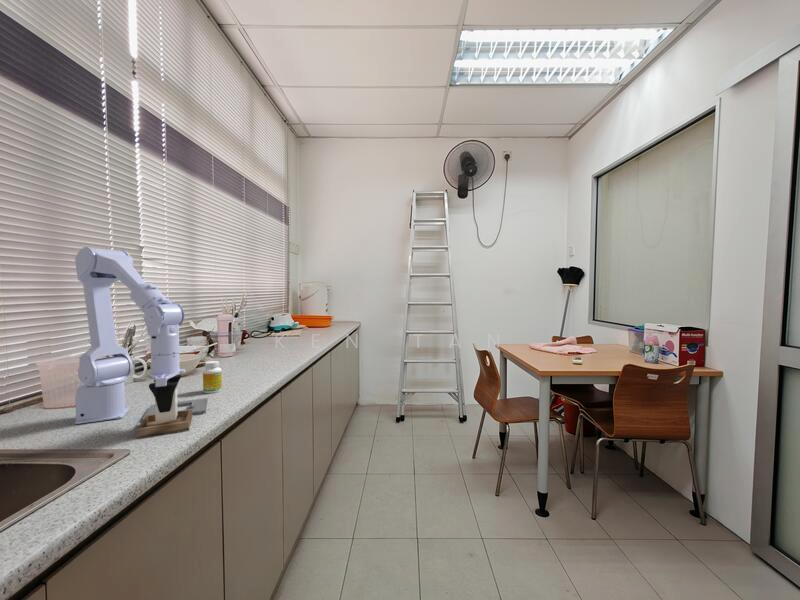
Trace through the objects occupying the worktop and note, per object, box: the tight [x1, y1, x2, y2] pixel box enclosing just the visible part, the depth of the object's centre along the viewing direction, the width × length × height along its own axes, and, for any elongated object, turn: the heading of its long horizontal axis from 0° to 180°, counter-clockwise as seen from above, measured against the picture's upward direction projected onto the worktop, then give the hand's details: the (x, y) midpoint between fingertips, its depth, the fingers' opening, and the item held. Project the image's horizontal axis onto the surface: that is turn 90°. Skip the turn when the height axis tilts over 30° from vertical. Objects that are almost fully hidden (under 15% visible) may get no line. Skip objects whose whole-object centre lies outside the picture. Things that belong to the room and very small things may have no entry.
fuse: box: [154, 385, 179, 423], centre depth 83 cm, size 4×4×8 cm
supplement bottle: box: [202, 360, 223, 394], centre depth 113 cm, size 5×5×10 cm
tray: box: [136, 408, 193, 439], centre depth 83 cm, size 10×10×2 cm
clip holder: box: [141, 397, 209, 421], centre depth 95 cm, size 14×12×2 cm
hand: (166, 408), depth 83 cm, fingers closed on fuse, 4 cm apart
